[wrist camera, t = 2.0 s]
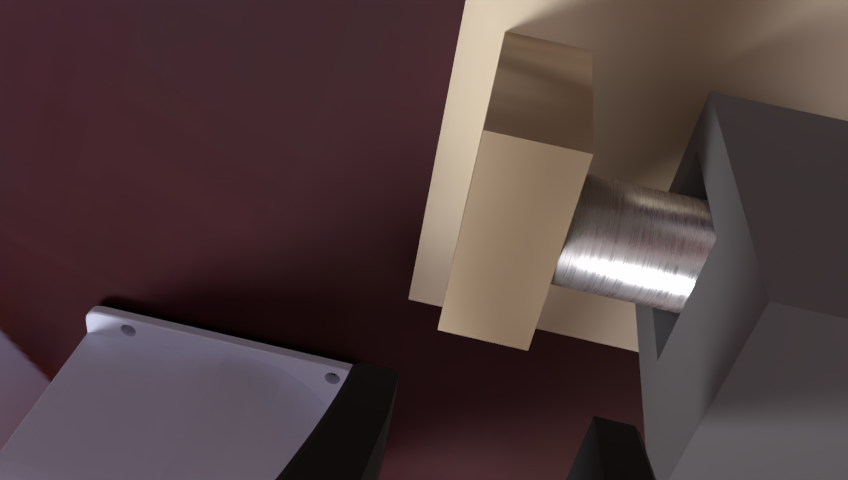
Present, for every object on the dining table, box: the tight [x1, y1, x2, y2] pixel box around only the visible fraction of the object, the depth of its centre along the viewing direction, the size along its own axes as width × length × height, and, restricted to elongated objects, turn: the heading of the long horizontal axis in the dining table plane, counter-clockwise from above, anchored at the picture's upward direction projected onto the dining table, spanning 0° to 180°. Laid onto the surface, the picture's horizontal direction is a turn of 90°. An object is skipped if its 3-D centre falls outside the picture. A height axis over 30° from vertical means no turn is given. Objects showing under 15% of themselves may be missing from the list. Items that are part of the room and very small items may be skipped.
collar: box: [635, 91, 848, 480], centre depth 16 cm, size 3×5×7 cm, turn 171°
